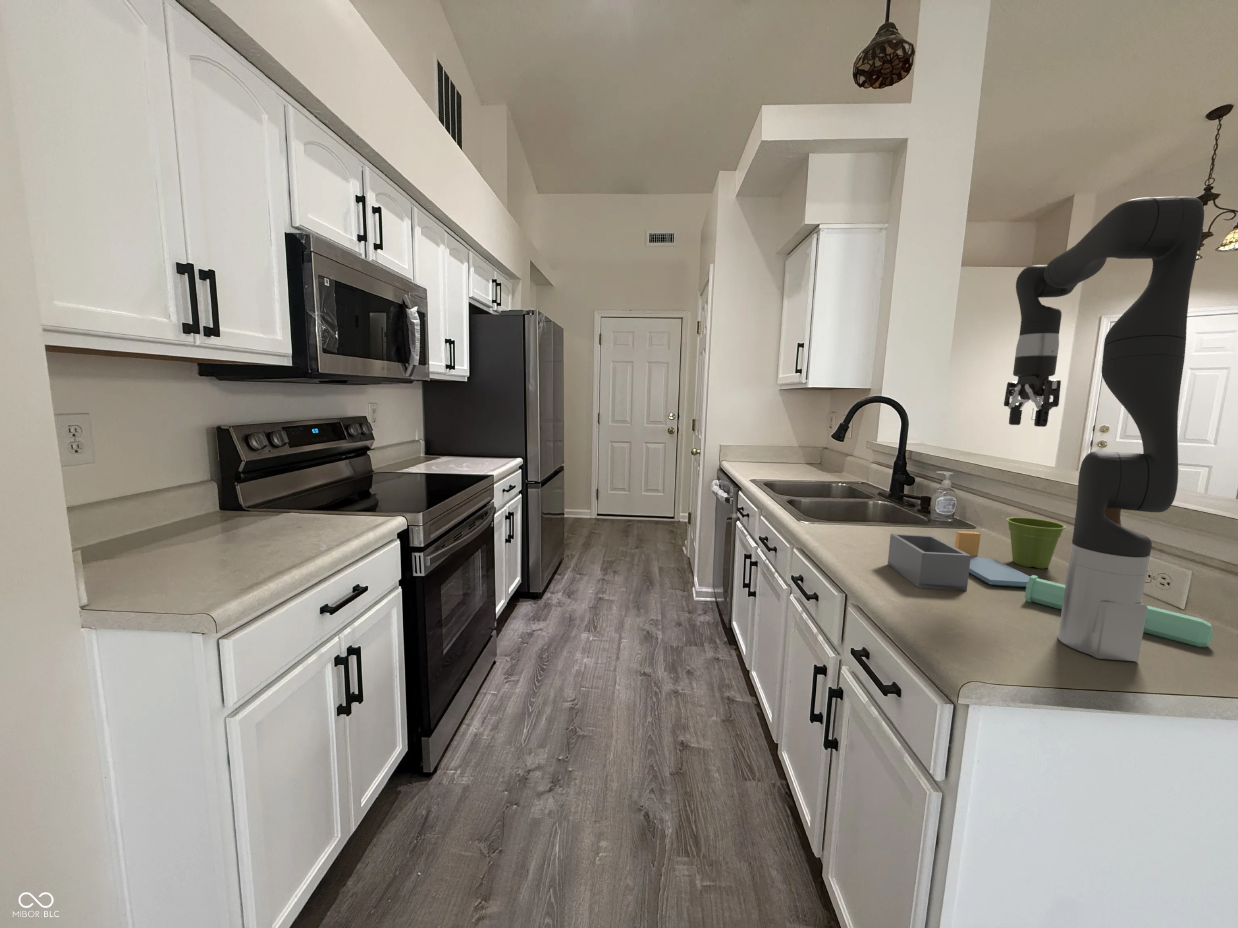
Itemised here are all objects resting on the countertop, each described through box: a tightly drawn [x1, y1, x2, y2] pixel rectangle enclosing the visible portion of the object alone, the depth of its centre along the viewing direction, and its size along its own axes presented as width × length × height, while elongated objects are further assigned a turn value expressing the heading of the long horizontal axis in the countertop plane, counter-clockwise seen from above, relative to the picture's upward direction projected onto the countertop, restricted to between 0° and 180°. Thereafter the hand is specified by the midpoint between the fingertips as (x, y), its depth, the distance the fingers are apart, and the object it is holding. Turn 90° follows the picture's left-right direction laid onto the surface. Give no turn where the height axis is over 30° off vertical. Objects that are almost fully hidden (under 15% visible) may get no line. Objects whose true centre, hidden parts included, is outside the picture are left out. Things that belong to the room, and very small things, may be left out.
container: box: [1024, 574, 1214, 648], centre depth 94 cm, size 6×6×25 cm
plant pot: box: [1005, 516, 1067, 570], centre depth 127 cm, size 12×12×11 cm
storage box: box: [887, 533, 971, 592], centre depth 116 cm, size 16×10×8 cm, turn 174°
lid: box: [954, 530, 1031, 588], centre depth 119 cm, size 20×11×8 cm, turn 174°
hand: (1026, 425), depth 115 cm, fingers open, 8 cm apart
